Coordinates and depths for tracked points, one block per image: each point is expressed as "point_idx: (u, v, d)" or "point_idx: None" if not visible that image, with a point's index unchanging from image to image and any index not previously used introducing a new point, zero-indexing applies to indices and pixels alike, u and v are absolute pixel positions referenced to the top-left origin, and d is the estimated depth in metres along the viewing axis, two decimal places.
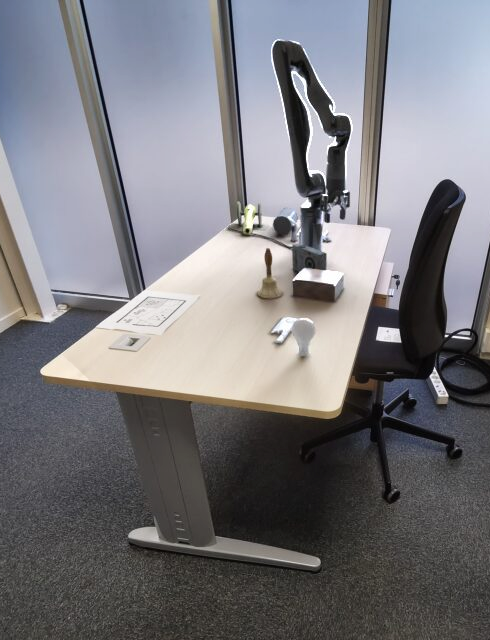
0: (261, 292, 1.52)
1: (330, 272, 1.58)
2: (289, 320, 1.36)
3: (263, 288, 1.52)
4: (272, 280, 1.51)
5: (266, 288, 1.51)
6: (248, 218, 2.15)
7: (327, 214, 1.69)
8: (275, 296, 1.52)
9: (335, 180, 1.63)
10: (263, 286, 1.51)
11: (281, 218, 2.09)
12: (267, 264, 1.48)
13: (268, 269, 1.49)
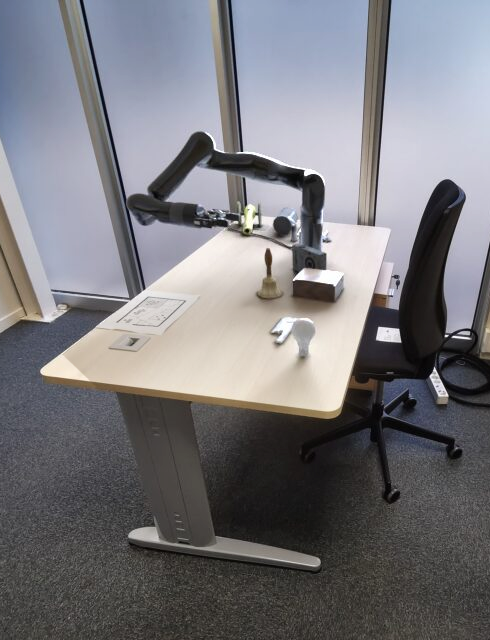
0: (261, 292, 1.52)
1: (330, 272, 1.58)
2: (289, 320, 1.36)
3: (263, 288, 1.52)
4: (272, 280, 1.51)
5: (266, 288, 1.51)
6: (248, 218, 2.15)
7: (217, 221, 1.39)
8: (275, 296, 1.52)
9: (184, 209, 1.41)
10: (263, 286, 1.51)
11: (281, 218, 2.09)
12: (267, 264, 1.48)
13: (268, 269, 1.49)
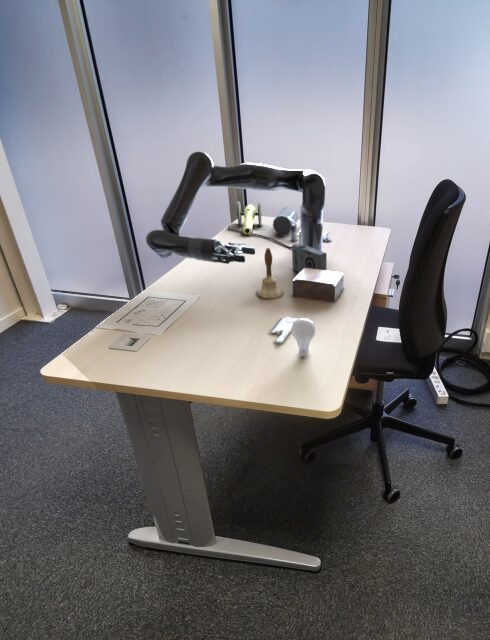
0: (261, 292, 1.52)
1: (330, 272, 1.58)
2: (289, 320, 1.36)
3: (263, 288, 1.52)
4: (272, 280, 1.51)
5: (266, 288, 1.51)
6: (248, 218, 2.15)
7: (234, 256, 1.44)
8: (275, 296, 1.52)
9: (202, 245, 1.47)
10: (263, 286, 1.51)
11: (281, 218, 2.09)
12: (267, 264, 1.48)
13: (268, 269, 1.49)
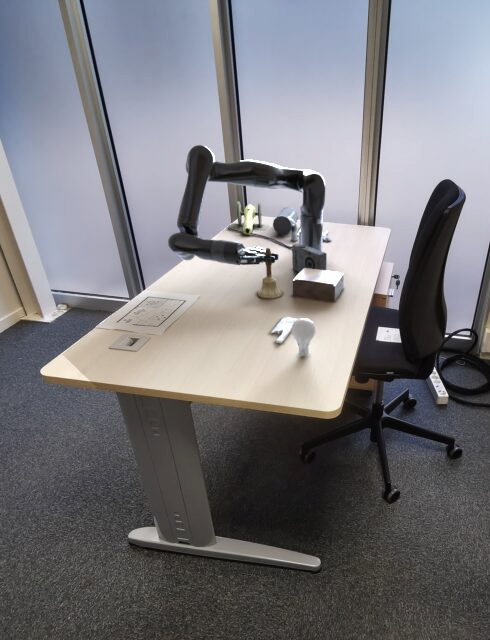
0: (261, 292, 1.52)
1: (330, 272, 1.58)
2: (289, 320, 1.36)
3: (263, 288, 1.52)
4: (272, 280, 1.51)
5: (266, 288, 1.51)
6: (248, 218, 2.15)
7: (264, 257, 1.45)
8: (275, 296, 1.52)
9: (225, 247, 1.46)
10: (263, 286, 1.51)
11: (281, 218, 2.09)
12: (267, 264, 1.48)
13: (268, 269, 1.49)
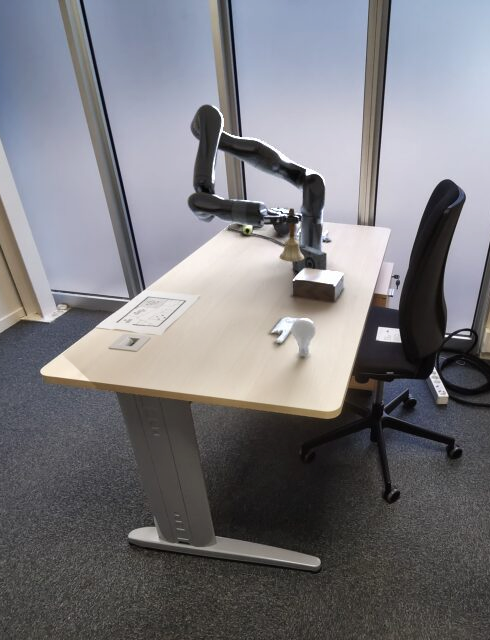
0: (283, 255, 1.47)
1: (330, 272, 1.58)
2: (289, 320, 1.36)
3: (285, 251, 1.46)
4: (295, 242, 1.45)
5: (289, 250, 1.46)
6: None
7: (287, 217, 1.40)
8: (298, 259, 1.47)
9: (247, 207, 1.40)
10: (285, 249, 1.46)
11: None
12: (290, 225, 1.42)
13: (291, 230, 1.44)
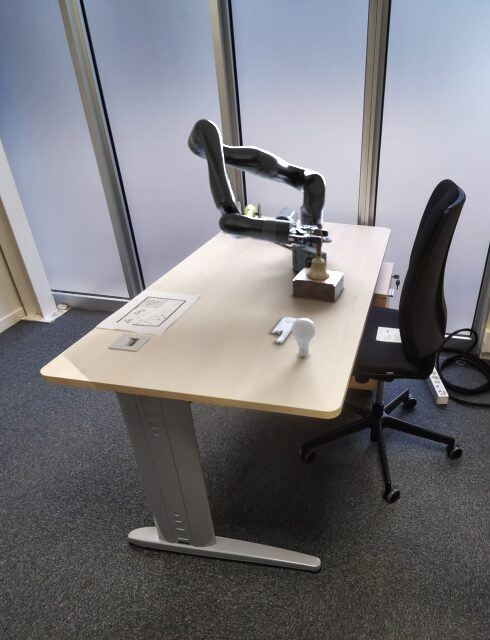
0: (310, 273, 1.52)
1: (330, 272, 1.58)
2: (289, 320, 1.36)
3: (312, 269, 1.52)
4: (322, 261, 1.51)
5: (316, 269, 1.51)
6: None
7: (311, 237, 1.43)
8: (324, 277, 1.52)
9: (277, 226, 1.45)
10: (312, 267, 1.51)
11: (281, 218, 2.09)
12: (318, 245, 1.48)
13: (318, 250, 1.49)
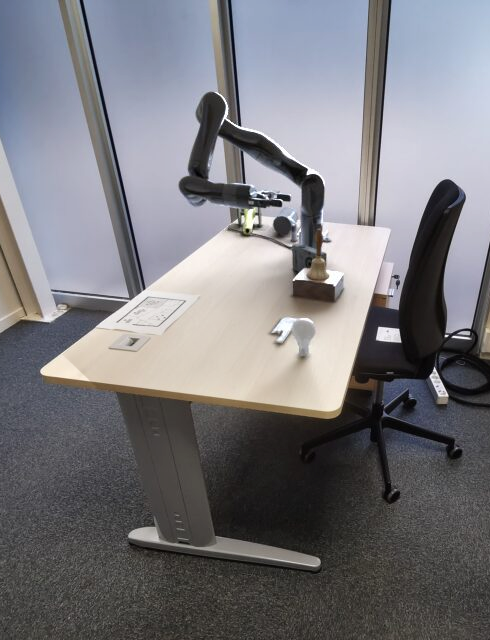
0: (310, 273, 1.52)
1: (330, 272, 1.58)
2: (289, 320, 1.36)
3: (312, 269, 1.52)
4: (322, 261, 1.51)
5: (316, 269, 1.51)
6: (248, 218, 2.15)
7: (271, 200, 1.39)
8: (324, 277, 1.52)
9: (237, 190, 1.42)
10: (312, 267, 1.51)
11: (281, 218, 2.09)
12: (318, 245, 1.48)
13: (318, 250, 1.49)
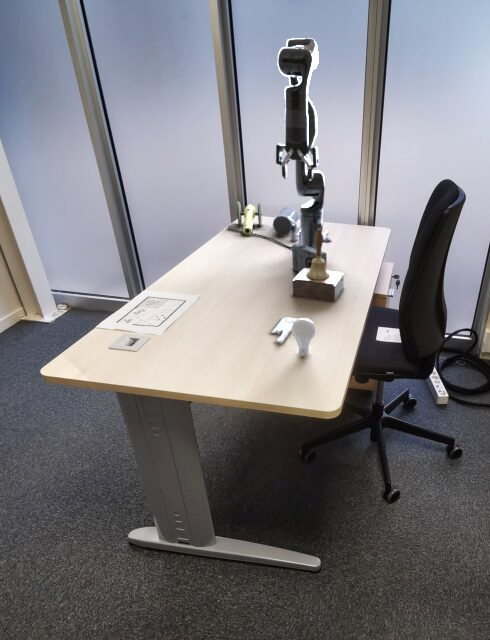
0: (310, 273, 1.52)
1: (330, 272, 1.58)
2: (289, 320, 1.36)
3: (312, 269, 1.52)
4: (322, 261, 1.51)
5: (316, 269, 1.51)
6: (248, 218, 2.15)
7: (282, 168, 1.50)
8: (324, 277, 1.52)
9: (285, 128, 1.42)
10: (312, 267, 1.51)
11: (281, 218, 2.09)
12: (318, 245, 1.48)
13: (318, 250, 1.49)
